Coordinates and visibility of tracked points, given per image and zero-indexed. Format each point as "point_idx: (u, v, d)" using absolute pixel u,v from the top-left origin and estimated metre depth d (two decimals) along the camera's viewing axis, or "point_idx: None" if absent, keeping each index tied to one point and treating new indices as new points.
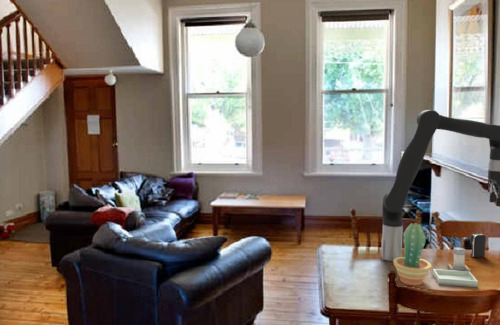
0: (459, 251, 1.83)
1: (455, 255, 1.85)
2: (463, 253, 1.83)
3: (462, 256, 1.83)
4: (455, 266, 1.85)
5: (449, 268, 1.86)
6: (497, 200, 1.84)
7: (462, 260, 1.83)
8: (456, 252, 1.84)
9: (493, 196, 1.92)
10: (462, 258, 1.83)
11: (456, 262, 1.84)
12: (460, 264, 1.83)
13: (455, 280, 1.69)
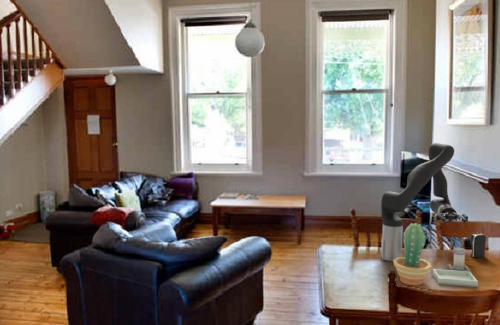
0: (459, 251, 1.83)
1: (455, 255, 1.85)
2: (463, 253, 1.83)
3: (462, 256, 1.83)
4: (455, 266, 1.85)
5: (449, 268, 1.86)
6: (463, 218, 1.95)
7: (462, 260, 1.83)
8: (456, 252, 1.84)
9: None
10: (462, 258, 1.83)
11: (456, 262, 1.84)
12: (460, 264, 1.83)
13: (455, 280, 1.69)
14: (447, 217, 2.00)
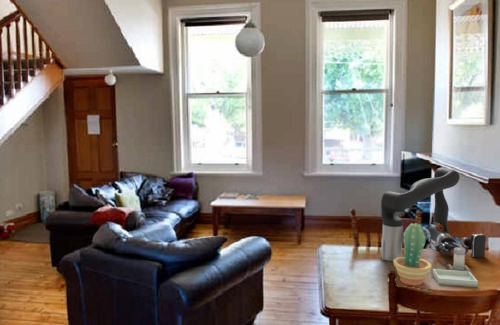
0: (459, 251, 1.83)
1: (455, 255, 1.85)
2: (463, 253, 1.83)
3: (462, 256, 1.83)
4: (455, 266, 1.85)
5: (449, 268, 1.86)
6: None
7: (462, 260, 1.83)
8: (456, 252, 1.84)
9: None
10: (462, 258, 1.83)
11: (456, 262, 1.84)
12: (460, 264, 1.83)
13: (455, 280, 1.69)
14: (447, 247, 1.99)
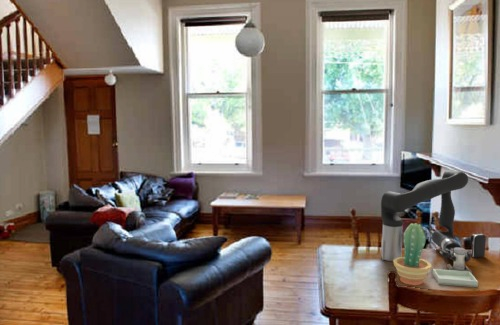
0: (459, 251, 1.83)
1: (455, 255, 1.85)
2: (463, 253, 1.83)
3: (462, 256, 1.83)
4: (455, 266, 1.85)
5: (449, 268, 1.86)
6: (466, 256, 1.84)
7: (462, 260, 1.83)
8: (456, 252, 1.84)
9: None
10: (462, 258, 1.83)
11: (456, 262, 1.84)
12: (460, 264, 1.83)
13: (455, 280, 1.69)
14: None
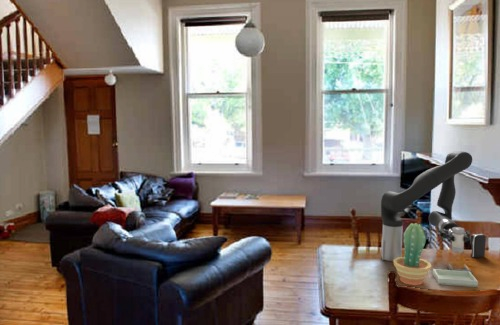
0: (458, 230, 1.73)
1: (454, 235, 1.74)
2: (462, 232, 1.73)
3: (461, 236, 1.73)
4: (454, 246, 1.75)
5: (449, 268, 1.86)
6: (465, 235, 1.74)
7: (461, 240, 1.73)
8: (455, 232, 1.74)
9: None
10: (461, 238, 1.73)
11: (454, 243, 1.74)
12: (459, 244, 1.73)
13: (455, 280, 1.69)
14: None
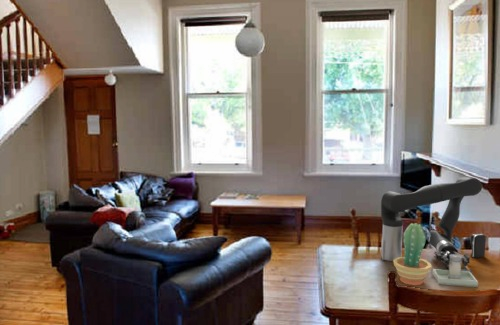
0: (455, 258, 1.72)
1: (451, 262, 1.73)
2: (459, 260, 1.71)
3: (458, 263, 1.72)
4: (451, 274, 1.73)
5: None
6: (464, 259, 1.73)
7: (458, 268, 1.72)
8: (452, 259, 1.72)
9: None
10: (458, 266, 1.72)
11: (451, 270, 1.73)
12: (456, 272, 1.72)
13: (455, 280, 1.69)
14: (449, 257, 1.78)
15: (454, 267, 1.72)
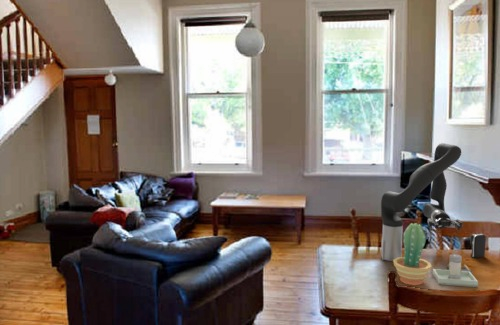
0: (455, 258, 1.71)
1: (451, 262, 1.73)
2: (459, 260, 1.71)
3: (458, 264, 1.71)
4: (451, 274, 1.73)
5: None
6: (457, 224, 1.86)
7: (458, 268, 1.72)
8: (452, 259, 1.72)
9: None
10: (458, 266, 1.72)
11: (451, 270, 1.73)
12: (456, 272, 1.72)
13: (455, 280, 1.69)
14: (440, 223, 1.91)
15: (454, 267, 1.72)
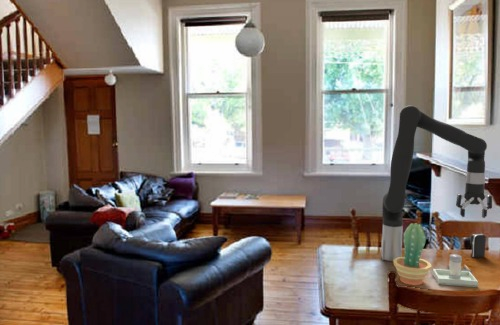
0: (455, 258, 1.71)
1: (451, 262, 1.73)
2: (459, 260, 1.71)
3: (458, 263, 1.71)
4: (451, 274, 1.73)
5: None
6: None
7: (458, 268, 1.72)
8: (452, 259, 1.72)
9: (483, 211, 1.84)
10: (458, 266, 1.72)
11: (451, 270, 1.73)
12: (456, 272, 1.72)
13: (455, 280, 1.69)
14: None
15: (454, 267, 1.72)
